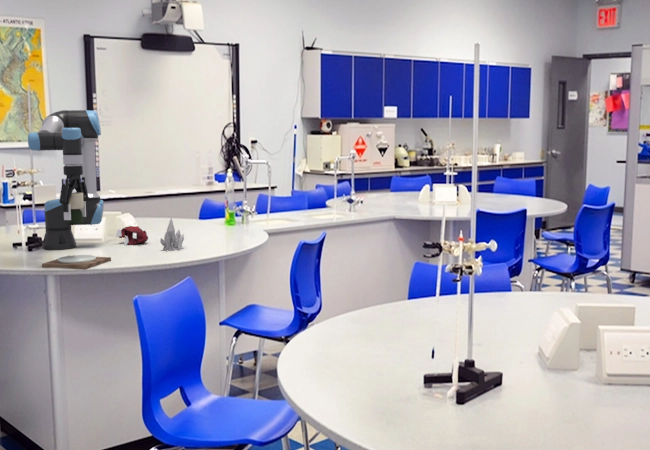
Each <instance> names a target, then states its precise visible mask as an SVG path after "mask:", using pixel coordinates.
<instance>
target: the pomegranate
mask: <svg viewBox="0 0 650 450" xmlns="http://www.w3.org/2000/svg"><path fill="white" fill-rule="evenodd" d="M115 238H119V239H122V238H123V240H124V241H123V244H124V246H127V245H128V246H130V245H131V246H132V245H138V244H145V243H146V242H147V241H148V240H149V236H148V234H147V231H146V230H143V229H141V228H140V227H139V226H133V225H129V226H125V227H123V228H122V229H121V228H117V230H116V233H115Z"/></svg>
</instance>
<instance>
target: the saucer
mask: <svg viewBox="0 0 650 450" xmlns="http://www.w3.org/2000/svg"><path fill="white" fill-rule="evenodd" d="M96 257H97V256H95V255H91V254H89V255H88V254H73V255H65V256H62V257H59V258H57V259H58V262H60V263H67V264H76V263H87V262H92V261H95V260H96Z"/></svg>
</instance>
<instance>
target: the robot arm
mask: <svg viewBox="0 0 650 450" xmlns="http://www.w3.org/2000/svg"><path fill="white" fill-rule="evenodd" d="M101 135H102V131H101V123H100V118H99V114H98V112H96V111H95V110H89V109H88V110H87V109H86V110H84V109H82V110H81V109H80V110H73V109H72V110H65V109H64V110H58V111H55V112H53V113H50V114H48V115H47V116H46V117H45V118H44V119H43V120H42V122H41V128H40V129H39V130H38V132H36V131H34V132H30V133H28V136H27V145H28V148H29V150H30V151H38V152H40V151H41V152H42V151H62V161H63V162H62V164H63V165H64V166H63V167H62V170H63V175H64V176H66V177H65V178H61V189H60V195H59V198H55V199H50V200H47V201H45V202H44V223H45V224H44V226H45V227H44V228H45V233H44V237H43V241H42V243H41V244H42V245H41V246H42V249H43V250H49V251H50V250H51V251H52V250H53V251H59V250H68V249H69V250H71V249H73V248H76V247H77V242H76V239H75V237H74V234H73V232H72V226H81V225H82V226H87V225H88V226H89V225H90V226H92V225H93V226H95V225H99V224H101V223H102V220H103V216H104V206H105V205H104V203H105V201H104V200H103V199H101V196H100V195H99V194H98V192H97V190H98V189H97V170H96V168H97V167H96V165H97V163H96V142H97V141H98V139H99V137H98V136H101ZM74 190H75V191H76V192H75V193H83V201H84V207H83V208H81V209H80V210H81V211H82V215H83V223H78V224H77V223H74V225H73V223H69V224H68V220H71V208H70V204H69V201H70V198H71V195H72V193H73V191H74Z"/></svg>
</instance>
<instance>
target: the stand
mask: <svg viewBox="0 0 650 450" xmlns="http://www.w3.org/2000/svg"><path fill="white" fill-rule="evenodd" d="M95 257H96V260H95V261H92V262H87V263H76V264H67V263H60V262H58V259H59V258H56V259H54V260H53V259H52V260H50V261H47V262H44V263H41V268H46V269H47V268H51V269H75V270H88V269H91V268H95V267H98V266H99V265H102V264H105V263H109V262H111V261H112V257H111V256H95ZM108 261H109V262H108Z"/></svg>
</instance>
